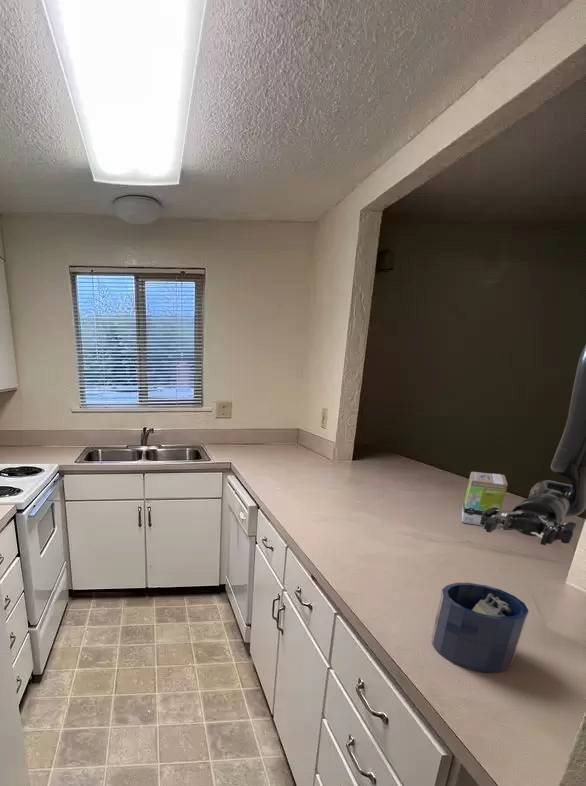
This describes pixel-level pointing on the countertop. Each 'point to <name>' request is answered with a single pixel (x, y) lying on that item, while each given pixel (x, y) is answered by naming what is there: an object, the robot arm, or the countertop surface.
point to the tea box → (483, 495)
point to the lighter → (491, 607)
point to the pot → (477, 628)
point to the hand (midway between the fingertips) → (515, 533)
